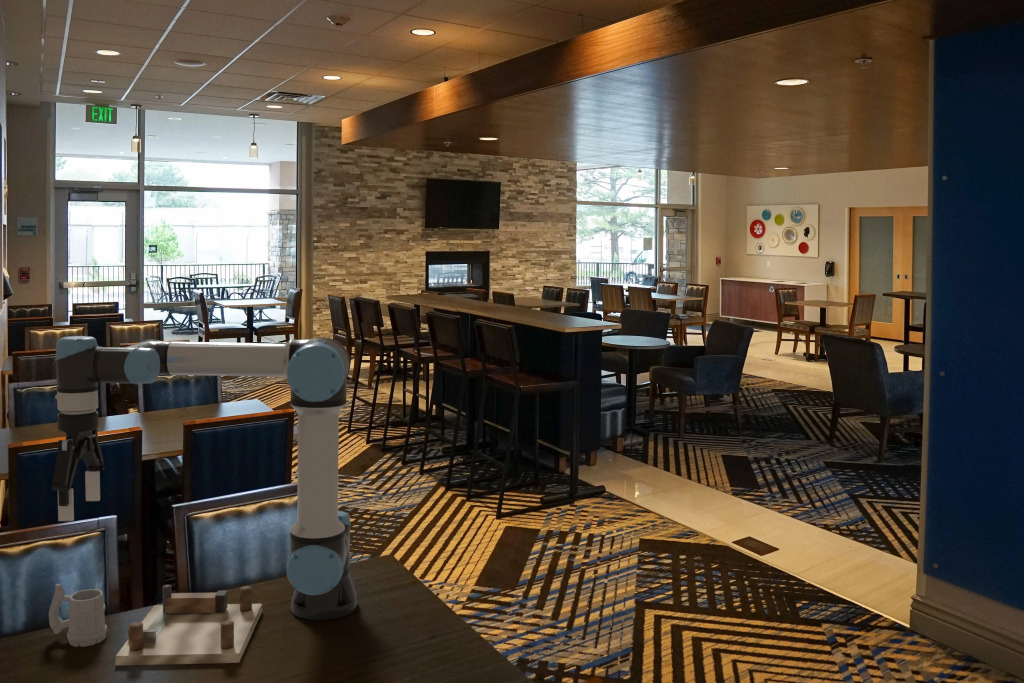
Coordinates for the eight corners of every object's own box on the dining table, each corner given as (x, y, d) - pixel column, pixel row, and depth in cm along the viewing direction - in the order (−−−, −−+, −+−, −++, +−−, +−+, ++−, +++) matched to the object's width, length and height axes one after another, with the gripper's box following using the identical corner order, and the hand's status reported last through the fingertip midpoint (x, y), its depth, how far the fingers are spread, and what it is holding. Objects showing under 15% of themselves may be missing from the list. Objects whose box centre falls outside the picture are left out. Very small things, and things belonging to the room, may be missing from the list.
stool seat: (262, 611, 190) (262, 582, 190) (239, 662, 167) (239, 629, 166) (154, 613, 188) (154, 584, 187) (115, 665, 164) (115, 632, 163)
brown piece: (161, 614, 182) (160, 588, 182) (164, 608, 185) (164, 583, 185) (224, 612, 184) (224, 588, 183) (227, 607, 187) (227, 583, 186)
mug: (96, 648, 171) (95, 592, 169) (39, 647, 170) (38, 591, 169) (114, 631, 178) (113, 578, 177) (59, 630, 178) (57, 577, 177)
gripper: (83, 400, 182) (85, 493, 184) (30, 422, 157) (33, 529, 160) (118, 400, 183) (120, 493, 185) (71, 423, 158) (73, 529, 160)
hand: (80, 510), depth 172 cm, fingers open, 13 cm apart
